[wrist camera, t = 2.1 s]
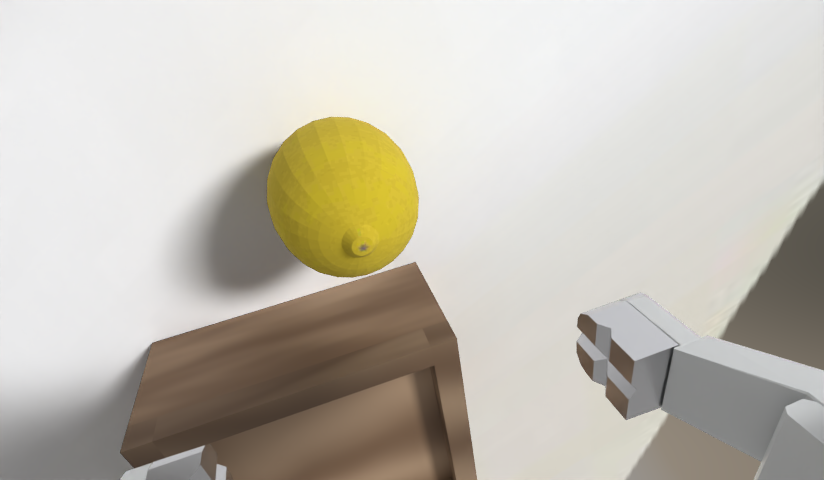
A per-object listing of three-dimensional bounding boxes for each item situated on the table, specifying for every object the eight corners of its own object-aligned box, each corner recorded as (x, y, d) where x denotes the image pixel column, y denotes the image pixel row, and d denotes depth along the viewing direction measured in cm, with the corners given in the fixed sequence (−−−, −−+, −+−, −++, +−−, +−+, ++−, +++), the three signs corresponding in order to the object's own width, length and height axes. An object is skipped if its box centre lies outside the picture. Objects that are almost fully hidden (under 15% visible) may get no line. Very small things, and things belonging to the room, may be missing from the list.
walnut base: (152, 343, 22) (119, 452, 17) (415, 262, 24) (456, 338, 19) (251, 487, 30) (248, 593, 25) (444, 416, 32) (480, 499, 27)
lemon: (282, 224, 21) (293, 336, 14) (250, 107, 18) (244, 182, 12) (394, 200, 22) (451, 295, 16) (381, 87, 19) (444, 145, 13)
